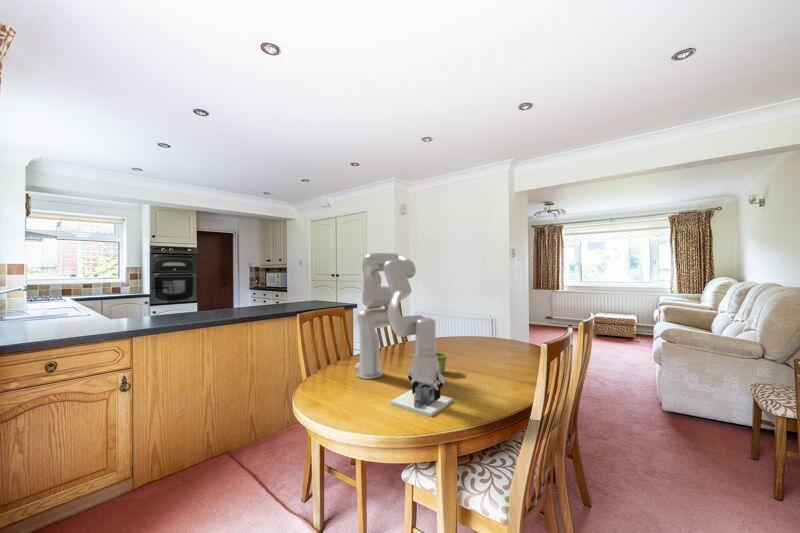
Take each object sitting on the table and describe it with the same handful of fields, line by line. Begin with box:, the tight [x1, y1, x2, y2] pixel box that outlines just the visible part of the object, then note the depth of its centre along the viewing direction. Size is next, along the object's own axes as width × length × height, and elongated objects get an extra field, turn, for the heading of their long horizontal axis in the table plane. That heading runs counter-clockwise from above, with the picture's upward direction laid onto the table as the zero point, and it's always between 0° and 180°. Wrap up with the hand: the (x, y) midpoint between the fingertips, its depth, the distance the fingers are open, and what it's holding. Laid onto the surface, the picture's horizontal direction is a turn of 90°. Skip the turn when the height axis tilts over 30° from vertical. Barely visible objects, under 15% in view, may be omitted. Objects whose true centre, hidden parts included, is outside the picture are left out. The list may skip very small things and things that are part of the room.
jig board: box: [389, 389, 454, 418], centre depth 127 cm, size 18×16×1 cm
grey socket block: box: [414, 383, 435, 408], centre depth 124 cm, size 10×6×6 cm, turn 146°
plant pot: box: [436, 352, 449, 375], centre depth 163 cm, size 9×9×9 cm
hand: (426, 396), depth 126 cm, fingers open, 9 cm apart
